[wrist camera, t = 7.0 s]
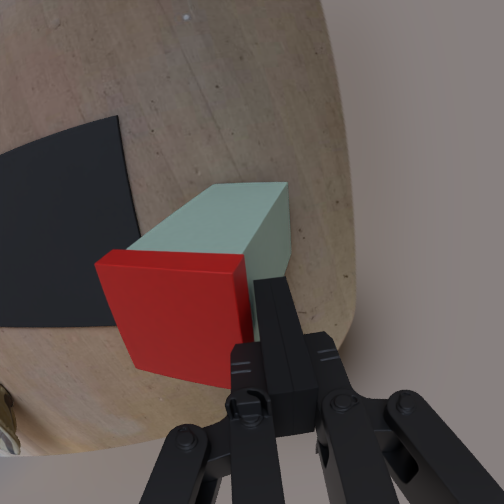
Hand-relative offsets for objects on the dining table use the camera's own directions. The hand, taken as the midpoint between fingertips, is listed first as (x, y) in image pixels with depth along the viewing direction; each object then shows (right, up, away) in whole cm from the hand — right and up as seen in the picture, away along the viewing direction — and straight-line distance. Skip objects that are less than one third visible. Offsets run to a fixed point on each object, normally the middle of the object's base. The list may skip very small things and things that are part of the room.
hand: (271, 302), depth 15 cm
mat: (-26, +3, +11) cm, 28 cm away
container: (-1, +5, +10) cm, 12 cm away
